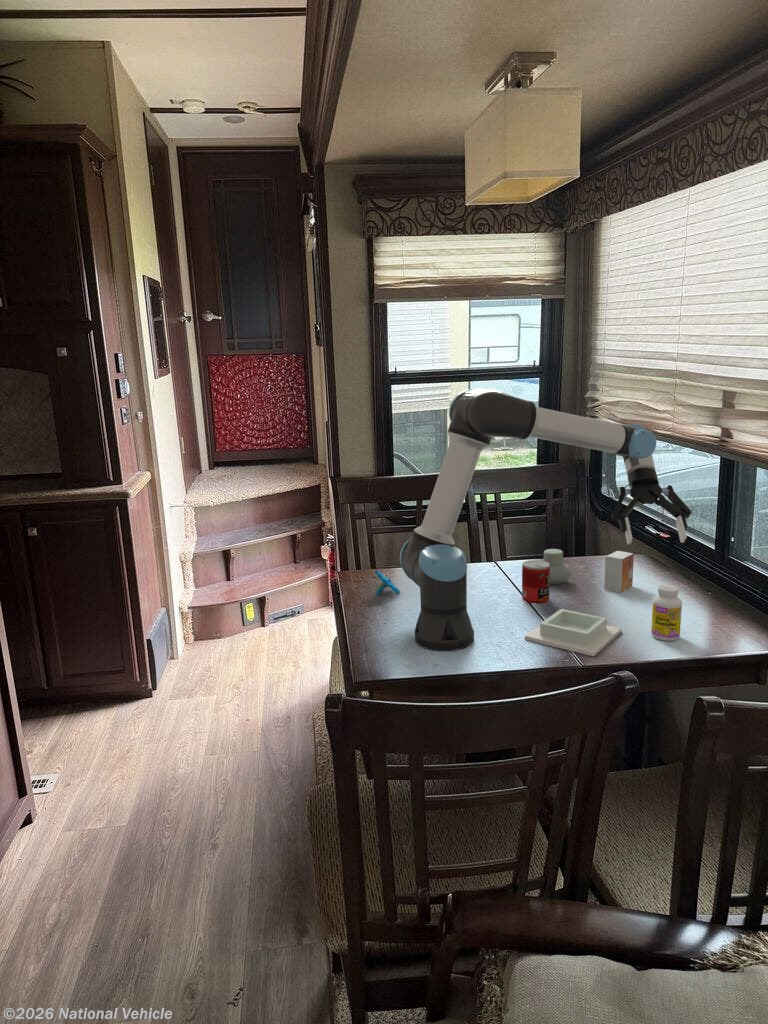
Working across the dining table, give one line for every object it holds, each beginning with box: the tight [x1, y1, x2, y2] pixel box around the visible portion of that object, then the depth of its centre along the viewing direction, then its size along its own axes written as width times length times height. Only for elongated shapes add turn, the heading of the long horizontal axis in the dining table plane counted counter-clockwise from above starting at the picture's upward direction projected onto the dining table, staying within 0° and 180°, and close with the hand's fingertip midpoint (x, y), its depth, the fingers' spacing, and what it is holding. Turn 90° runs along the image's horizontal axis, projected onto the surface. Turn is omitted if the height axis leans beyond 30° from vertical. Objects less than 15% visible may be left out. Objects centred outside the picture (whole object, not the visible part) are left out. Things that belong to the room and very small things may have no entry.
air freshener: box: [543, 548, 572, 585], centre depth 216 cm, size 11×8×10 cm
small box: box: [603, 550, 635, 593], centre depth 208 cm, size 8×6×10 cm
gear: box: [374, 570, 401, 596], centre depth 211 cm, size 11×6×10 cm
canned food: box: [521, 559, 551, 605], centre depth 200 cm, size 8×8×11 cm
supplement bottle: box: [650, 584, 683, 642], centre depth 171 cm, size 7×7×13 cm
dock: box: [524, 608, 622, 657], centre depth 174 cm, size 18×18×4 cm
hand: (656, 541), depth 178 cm, fingers open, 13 cm apart
